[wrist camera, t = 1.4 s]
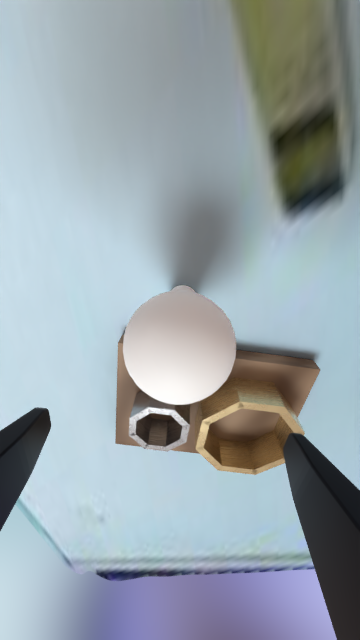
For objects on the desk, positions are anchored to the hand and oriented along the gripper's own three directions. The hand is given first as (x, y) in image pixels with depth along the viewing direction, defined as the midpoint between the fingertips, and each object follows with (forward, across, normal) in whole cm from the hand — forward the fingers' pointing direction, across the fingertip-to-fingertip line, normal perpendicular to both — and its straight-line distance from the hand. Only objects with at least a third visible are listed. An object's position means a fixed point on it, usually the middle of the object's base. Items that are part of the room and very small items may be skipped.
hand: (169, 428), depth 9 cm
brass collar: (+11, -7, +11) cm, 17 cm away
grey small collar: (+12, +1, +11) cm, 16 cm away
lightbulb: (+13, 0, 0) cm, 13 cm away
